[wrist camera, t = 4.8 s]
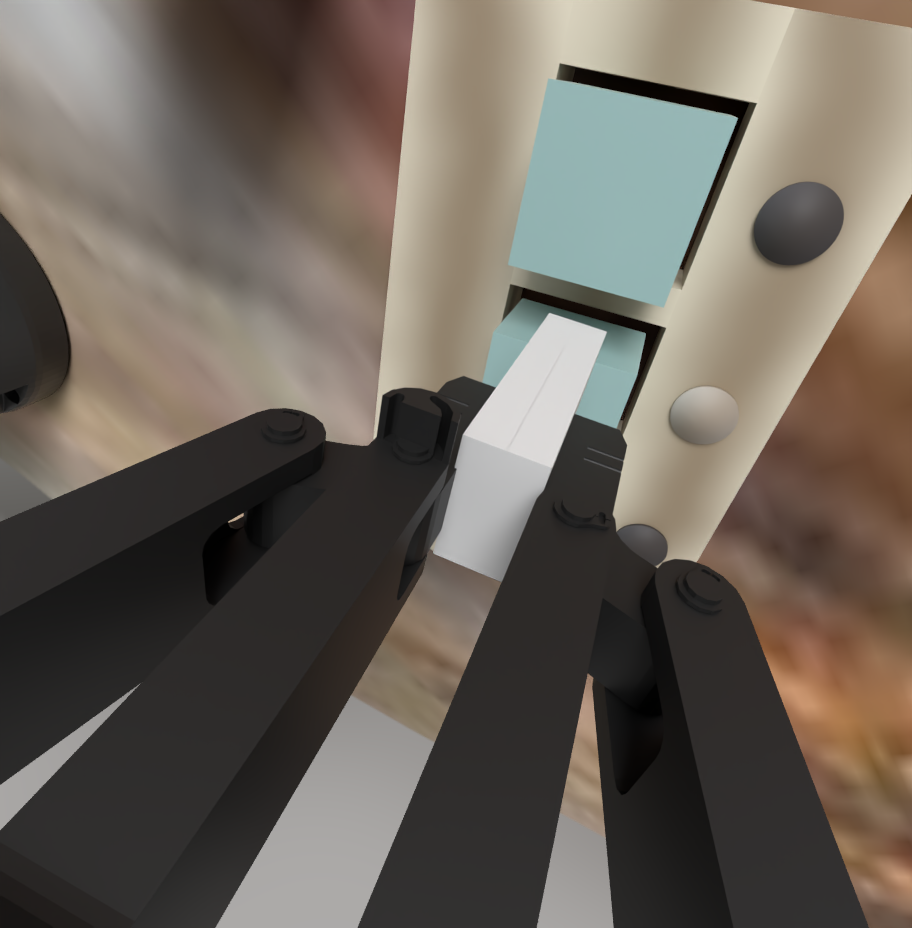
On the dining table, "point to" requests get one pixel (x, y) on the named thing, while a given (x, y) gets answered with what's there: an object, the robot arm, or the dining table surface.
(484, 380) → the button
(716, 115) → the button
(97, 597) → the robot arm
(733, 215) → the board
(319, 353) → the dining table surface
